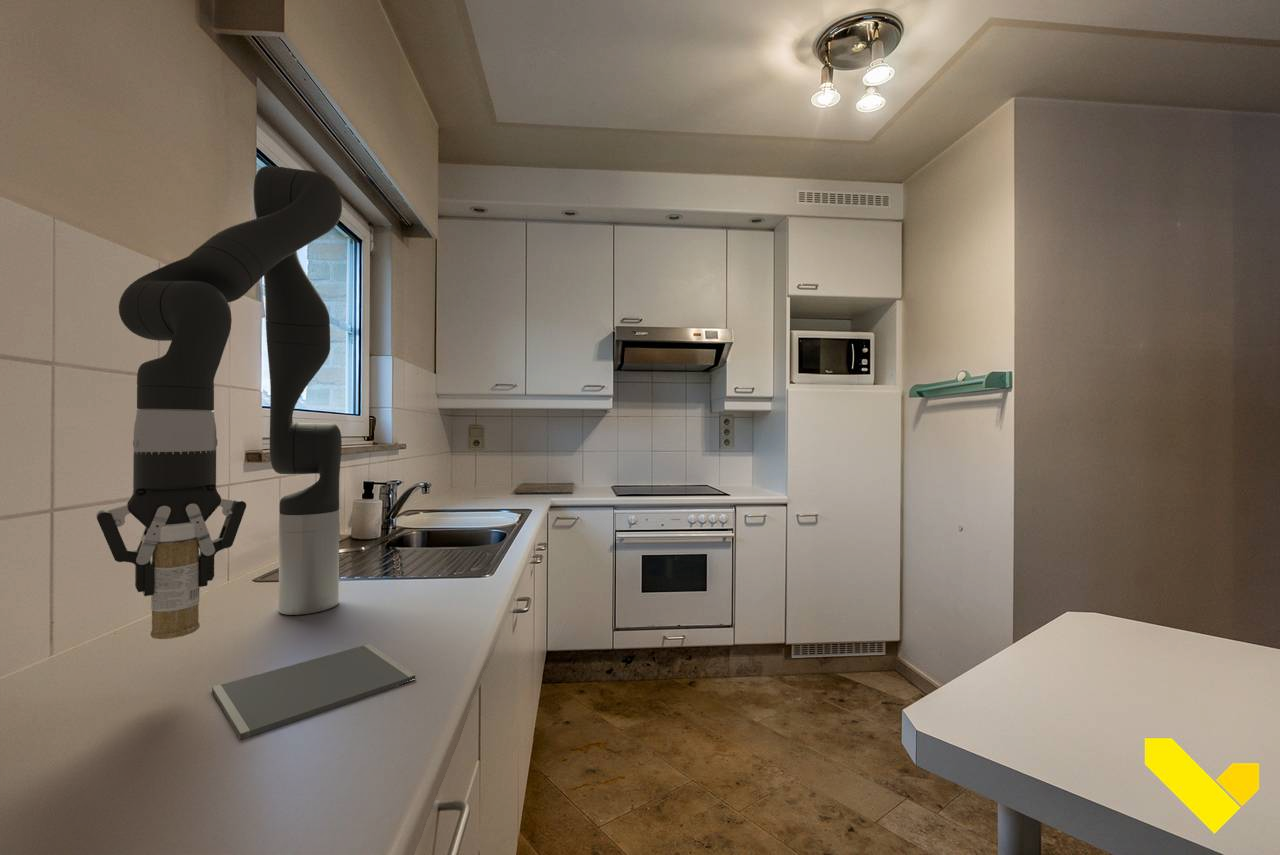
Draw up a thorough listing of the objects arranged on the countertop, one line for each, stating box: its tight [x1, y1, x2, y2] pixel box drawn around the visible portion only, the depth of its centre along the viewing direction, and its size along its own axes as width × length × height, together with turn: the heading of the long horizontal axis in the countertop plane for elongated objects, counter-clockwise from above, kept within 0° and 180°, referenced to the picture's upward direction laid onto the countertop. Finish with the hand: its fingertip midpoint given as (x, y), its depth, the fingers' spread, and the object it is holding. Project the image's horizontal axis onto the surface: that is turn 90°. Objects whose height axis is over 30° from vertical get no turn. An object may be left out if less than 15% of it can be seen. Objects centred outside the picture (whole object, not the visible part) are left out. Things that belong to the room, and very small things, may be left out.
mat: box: [211, 643, 416, 741], centre depth 66 cm, size 15×18×1 cm
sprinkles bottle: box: [150, 522, 201, 640], centre depth 64 cm, size 5×5×14 cm
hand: (175, 589), depth 64 cm, fingers closed on sprinkles bottle, 4 cm apart
